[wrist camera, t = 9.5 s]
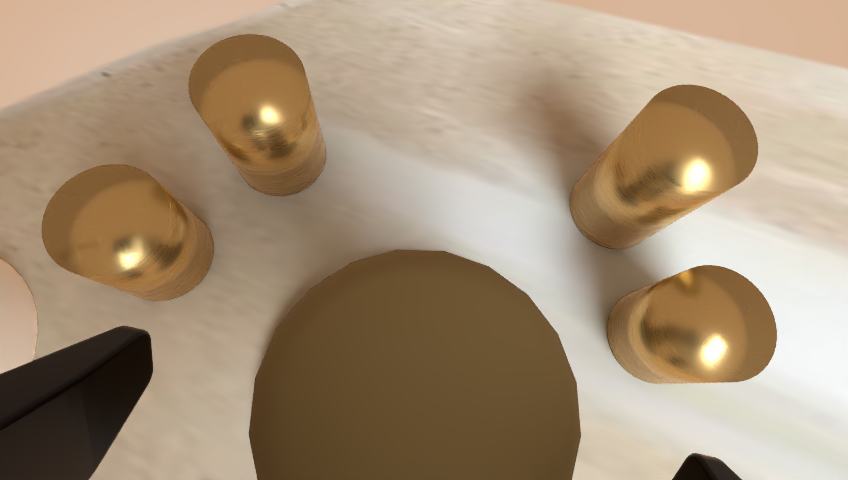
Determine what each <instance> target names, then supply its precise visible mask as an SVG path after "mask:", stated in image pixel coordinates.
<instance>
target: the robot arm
mask: <svg viewBox="0 0 848 480" xmlns="http://www.w3.org/2000/svg"><path fill="white" fill-rule="evenodd" d="M152 373H153V360H152V348H151V338H150V335H149V333H148V332H147V331H145V330H142V329H137V328H133V327H128V326H120V327H117V328H114V329H112V330H109V331H107V332H104V333H101V334H99V335H96V336H94V337H91V338H89V339H86V340H84V341H81V342H79V343H76V344H74V345H71V346H69V347H66V348H64V349H61V350H59V351H56V352H54V353H51V354H49V355H46V356H44V357H41V358H39V359H36V360H34V361H31V362H29V363H26V364H24V365H21V366H19V367H16V368H14V369H11V370H9V371H6V372H4V373H1V374H0V480H89V479H90V477H91V476H92V474H93V473H94V472H95V470H96V469H97V467H98V466H99V464H100V463H101V461H102V459H103V458H104V456H105V455H106V453H107V451H108V450H109V448H110V446H111V445H112V443H113V441H114V440H115V438H116V437H117V435H118V433H119V432H120V430H121V428H122V427H123V425H124V423H125V422H126V420H127V418H128V417H129V415H130V413H131V412H132V410H133V408H134V407H135V405H136V404H137V402H138V400H139V399H140V397H141V395H142V394H143V392H144V390H145V389H146V387H147V385H148V384H149V382H150V379H151V377H152ZM672 480H742V479H741V478H740V477H738V476H737V475H736V474H735V473H734V472H733V471H732V470H731V469H730V468H729V467H728V466H727V465H726V464H725V463H724V462H722V461H721V460H720V459H718V458H715V457H711V456H706V455H702V454H697V453H693V454H691V455H689V456H688V457H687V458H686V459H685V461H684V462H683V464H682V465H681V467H680V468H679V470H678V472H677V473H676V475H675V476H674V478H673V479H672Z"/></svg>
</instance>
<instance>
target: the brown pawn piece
mask: <svg viewBox="0 0 848 480" xmlns="http://www.w3.org/2000/svg"><path fill="white" fill-rule="evenodd" d="M249 438H250V443H251V448H252V454H253V459H254V464H255V469H256V474H257V479H258V480H572V476H573V471H574V466H575V462H576V457H577V452H578V448H579V443H580V438H581V431H580V419H579V407H578V395H577V383H576V380H575V377H574V375H573V372H572V370H571V367H570V364H569V362H568V359H567V357H566V354H565V351H564V349H563V346H562V344H561V341H560V338H559V336H558V334H557V332H556V331H555V330H554V328H553V327H552V326H551V325H550V323H549V322H548V321H547V319H546V318H545V317H544V315H543V314H542V313H541V311H540V310H539V309H538V308H537V306H536V305H535V304H534V302H533V301H532V300H531V298H530V297H529V296H528V295H527V294H526V293H525V292H523V291H522V290H521V289H519V288H518V287H516V286H515V285H514V284H512V283H511V282H509V281H508V280H507V279H505V278H504V277H503V276H501V275H500V274H498V273H497V272H496V271H494V270H493V269H491V268H490V267H489V266H486V265H483V264H480V263H477V262H474V261H471V260H468V259H465V258H463V257H460V256H457V255H454V254H451V253H448V252H445V251H420V250H395V251H391V252H388V253H384V254H381V255H377V256H374V257H370V258H366V259H363V260H359V261H356V262H352V263H350V264H349V265H347V266H346V267H344V268H342V269H341V270H339V271H338V272H336V273H335V274H333V275H332V276H330V277H328V278H327V279H325V280H324V281H322V282H321V283H319V284H318V285H316V286H314V287H313V288H311V289H310V290H309V291H308V292H307V293H306V295H305V296H304V297H303V298H302V299H301V301H300V302H299V303H298V304H297V305H296V307H295V308H294V309H293V310H292V311H291V312H290V314H289V315H288V316H287V317H286V318H285V320H284V321H283V322H282V323H281V324H280V325H279V327H278V328H277V329H276V331H275V334H274V336H273V338H272V341H271V343H270V345H269V348H268V350H267V352H266V355H265V357H264V359H263V361H262V364H261V366H260V368H259V371H258V373H257V375H256V378H255V384H254V393H253V402H252V411H251V419H250V428H249Z"/></svg>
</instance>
